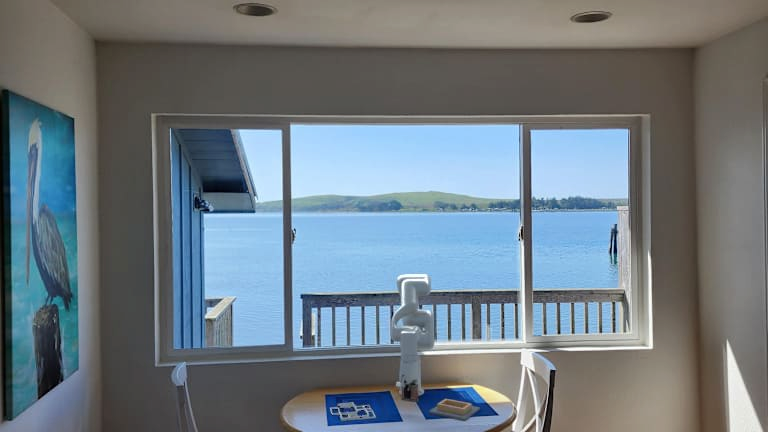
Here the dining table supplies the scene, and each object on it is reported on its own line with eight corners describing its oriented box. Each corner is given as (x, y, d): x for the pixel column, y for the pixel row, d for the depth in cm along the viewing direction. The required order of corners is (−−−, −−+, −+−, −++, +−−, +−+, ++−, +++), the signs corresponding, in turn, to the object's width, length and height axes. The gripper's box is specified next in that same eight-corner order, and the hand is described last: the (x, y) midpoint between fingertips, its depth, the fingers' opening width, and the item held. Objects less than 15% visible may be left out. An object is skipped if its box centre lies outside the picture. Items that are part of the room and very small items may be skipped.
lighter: (419, 399, 268) (419, 378, 268) (417, 402, 265) (416, 380, 265) (402, 397, 271) (402, 376, 271) (400, 400, 268) (399, 378, 267)
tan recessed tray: (428, 413, 268) (428, 405, 268) (445, 402, 281) (444, 395, 281) (464, 420, 258) (464, 412, 258) (479, 409, 271) (479, 402, 271)
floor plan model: (316, 409, 277) (316, 405, 277) (368, 405, 282) (368, 400, 281) (320, 424, 258) (319, 419, 258) (375, 419, 263) (375, 414, 263)
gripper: (411, 351, 276) (412, 389, 277) (392, 361, 262) (393, 401, 263) (425, 353, 272) (425, 392, 273) (406, 363, 258) (407, 404, 259)
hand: (409, 396), depth 268 cm, fingers closed on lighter, 3 cm apart
